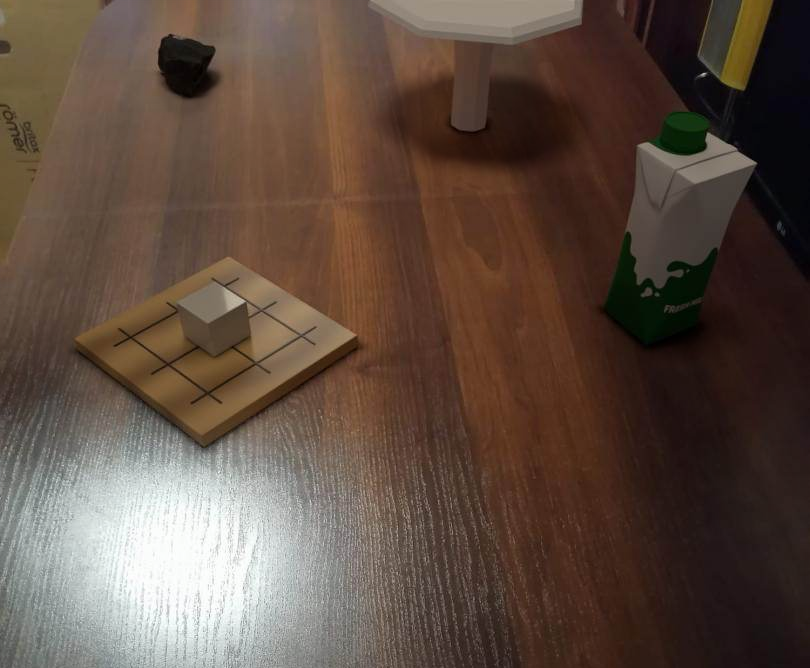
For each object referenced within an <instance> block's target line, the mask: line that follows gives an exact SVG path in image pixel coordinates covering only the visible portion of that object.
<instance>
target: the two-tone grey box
mask: <svg viewBox="0 0 810 668" xmlns="http://www.w3.org/2000/svg"><path fill="white" fill-rule="evenodd" d="M176 304H177V308H178V313H179V317H180V322H181V326H182V331H183V335H184V336H185V337H186V338H188V339H189V340H191V341H192V342H194V343H195V344H196V345H198V346H199V347H201V348H202V349H204V350H205V351H207V352H208V353H209V354H211V355H212V356H214V357H215V356H217V355H218V354H220V353H222V352H223V351H225V350H227V349H228V348H230V347H232V346H234V345H235V344H237V343H239V342H240V341H242V340H244V339H245V338H247V337H249V336H250V335H251V329H250V322H249V315H248V308H247V302H246V301H245V300H243V299H242V298H240V297H239V296H237V295H235V294H234V293H232V292H231V291H229V290H228V289H226V288H225V287H223V286H221V285H220V284H218V283H217V282H215V281H214V282H212V283H211V284H209V285H207V286H205V287H203V288H201V289H200V290H198V291H196V292H194V293H192V294H190V295H188V296H187V297H185V298H183V299H181V300H179V301H177V302H176Z"/></svg>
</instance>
